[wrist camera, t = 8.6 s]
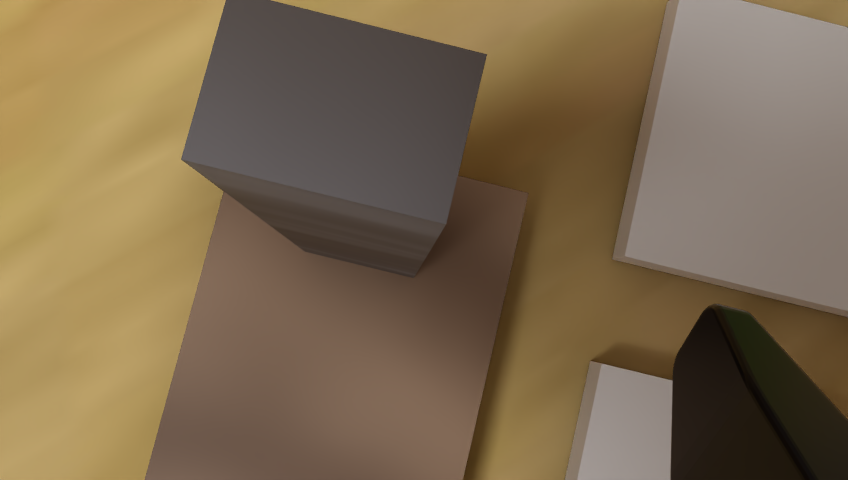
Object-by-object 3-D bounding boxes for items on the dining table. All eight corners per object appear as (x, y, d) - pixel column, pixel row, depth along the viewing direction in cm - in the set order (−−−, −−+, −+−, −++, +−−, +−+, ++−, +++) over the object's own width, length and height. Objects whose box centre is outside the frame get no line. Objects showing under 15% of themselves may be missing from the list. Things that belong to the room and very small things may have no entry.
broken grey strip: (808, 712, 21) (833, 736, 20) (528, 646, 21) (537, 666, 20) (921, 66, 23) (950, 52, 22) (667, 2, 23) (682, -15, 22)
